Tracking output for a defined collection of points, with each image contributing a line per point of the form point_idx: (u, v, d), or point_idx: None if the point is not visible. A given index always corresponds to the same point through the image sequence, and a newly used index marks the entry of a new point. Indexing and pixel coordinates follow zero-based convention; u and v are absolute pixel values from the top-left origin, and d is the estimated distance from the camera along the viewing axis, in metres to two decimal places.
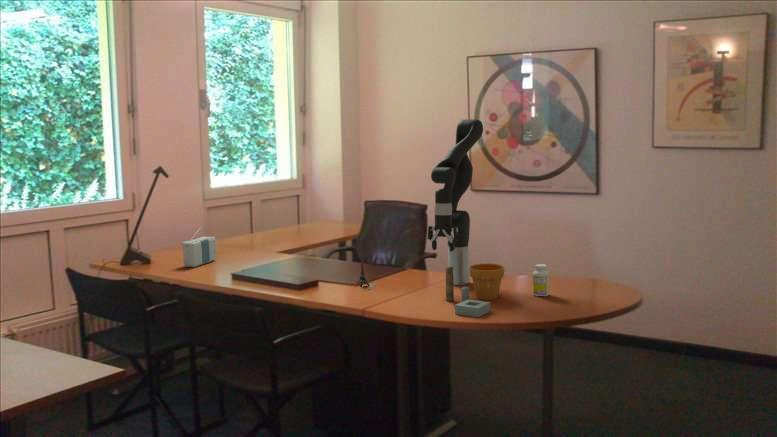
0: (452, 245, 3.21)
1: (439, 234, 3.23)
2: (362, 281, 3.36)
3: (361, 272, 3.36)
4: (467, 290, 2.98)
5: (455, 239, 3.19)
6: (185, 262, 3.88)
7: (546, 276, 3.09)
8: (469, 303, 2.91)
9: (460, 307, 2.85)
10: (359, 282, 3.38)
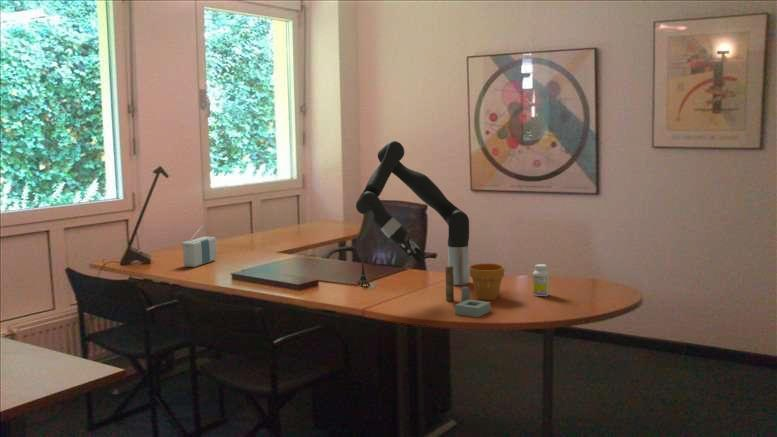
0: None
1: None
2: (363, 281, 3.36)
3: (362, 272, 3.36)
4: (467, 290, 2.98)
5: None
6: (185, 262, 3.88)
7: (546, 276, 3.09)
8: (469, 303, 2.91)
9: (460, 307, 2.85)
10: None
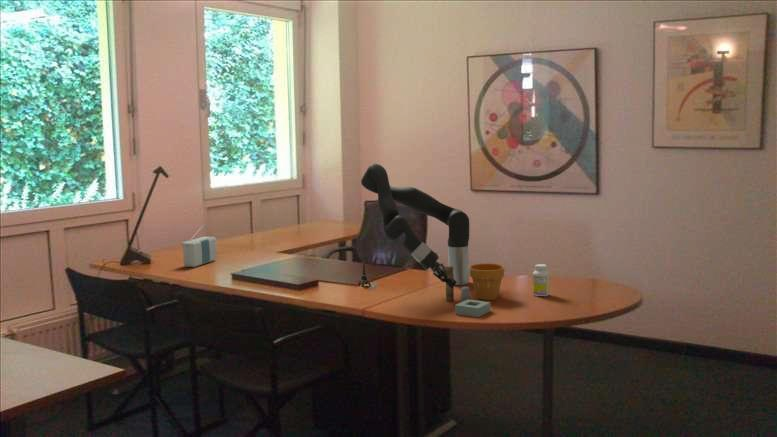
0: None
1: None
2: (364, 281, 3.36)
3: (363, 272, 3.36)
4: (467, 290, 2.98)
5: None
6: (185, 262, 3.88)
7: (546, 276, 3.09)
8: (469, 303, 2.91)
9: (460, 307, 2.85)
10: None
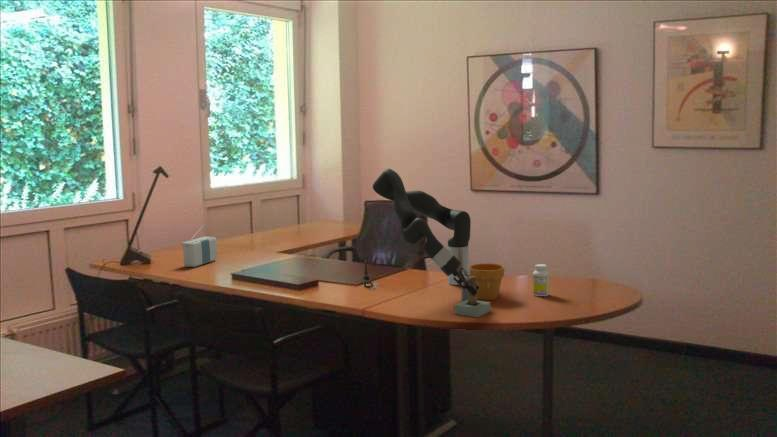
0: None
1: None
2: (366, 281, 3.36)
3: (365, 272, 3.37)
4: (467, 290, 2.98)
5: None
6: (185, 262, 3.88)
7: (546, 276, 3.09)
8: None
9: (460, 307, 2.85)
10: None
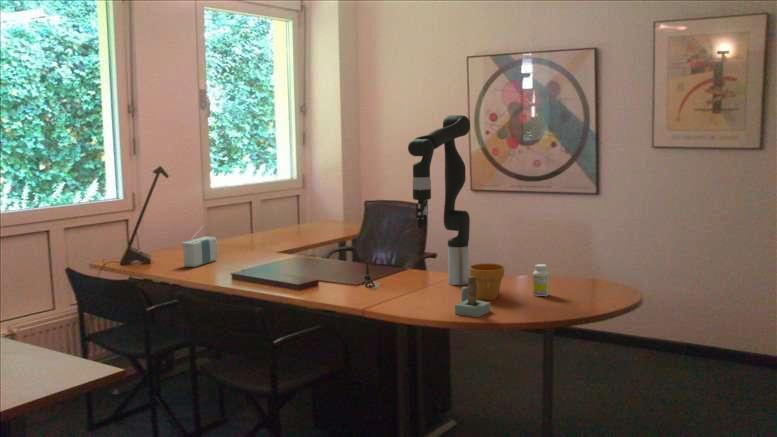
0: None
1: None
2: (367, 281, 3.36)
3: (366, 272, 3.37)
4: (467, 290, 2.98)
5: (427, 211, 3.15)
6: (185, 262, 3.88)
7: (546, 276, 3.09)
8: None
9: (460, 307, 2.85)
10: None
